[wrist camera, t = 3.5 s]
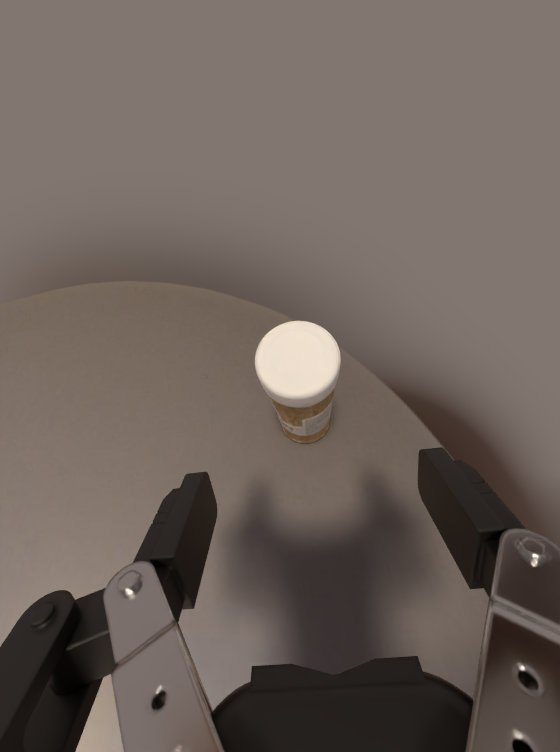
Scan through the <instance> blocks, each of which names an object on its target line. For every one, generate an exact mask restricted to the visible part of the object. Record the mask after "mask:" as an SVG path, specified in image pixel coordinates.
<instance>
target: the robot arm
mask: <svg viewBox="0 0 560 752" xmlns="http://www.w3.org/2000/svg"><path fill="white" fill-rule="evenodd" d="M418 489H419V493H420V496H421V499H422V501H423V503H424V505H425V506H426V508H427V510H428V512H429V514H430V516H431V518H432V519H433V521H434V523H435V525H436V527H437V529H438V530H439V532H440V534H441V536H442V538H443V540H444V542H445V543H446V545H447V547H448V549H449V551H450V553H451V555H452V556H453V558H454V560H455V562H456V564H457V566H458V567H459V569H460V571H461V573H462V575H463V577H464V579H465V580H466V582H467V584H468V586H469V588H470V589H478V588H484V589H485V591H486V593H487V595H488V596H489V604H488V610H487V616H486V622H485V628H484V634H483V640H482V646H481V652H480V658H479V664H478V670H477V676H476V682H475V688H474V694H473V699H472V698H471V697H470V696H468V695H467V694H466V693H465V692H463V691H462V690H460V689H459V688H457V687H456V686H454V685H453V684H451V683H449V682H447V681H446V680H444V679H442V678H440V677H437V676H435V675H432V674H430V673H426V672H422V669H421V665H420V662H419V659H418V656H411V657H395V658H378V659H374V660H371V661H369V662H366V663H364V664H362V665H359V666H357V667H354V668H352V669H350V670H347V671H345V672H342V673H340V674H337V675H331V674H327V673H323V672H320V671H316V670H312V669H309V668H305V667H301V666H298V665H294V664H281V665H265V666H252V673H251V682H249V683H246V684H244V685H243V686H241V687H239V688H238V689H236V690H235V691H233V692H232V693H231V694H229V695H228V696H227V697H226V698H225V699H224V700H223V701H222V702H221V703H220V704H219V705H218V706H217V707H216V708H215V709H214V711H213V709H212V707H211V704H210V702H209V699H208V697H207V695H206V692H205V690H204V687H203V685H202V682H201V680H200V677H199V675H198V672H197V670H196V667H195V665H194V662H193V659H192V657H191V654H190V652H189V649H188V647H187V644H186V642H185V639H184V637H183V634H182V632H181V629H180V626H179V624H178V621H179V617H180V614H181V610H182V609H194V606H195V602H196V598H197V594H198V590H199V586H200V582H201V578H202V574H203V570H204V566H205V562H206V558H207V554H208V550H209V546H210V543H211V539H212V535H213V531H214V527H215V523H216V518H217V503H216V499H215V495H214V492H213V488H212V485H211V481H210V478H209V475H208V473H207V472H199V473H190V474H186V476H185V477H184V480H183V482H182V484H181V487H180V488H178V489H173V490H172V491H171V492H170V493H169V494H168V495H167V496H166V497H165V498H164V499H163V501H162V503H161V505H160V508H159V510H158V514H156V516H155V518H154V520H153V524H151V526H150V528H149V530H148V532H147V534H146V537H145V539H144V541H143V543H142V545H141V547H140V549H139V551H138V553H137V555H136V557H135V559H134V561H133V563H132V564H129V565H127V566H125V567H124V568H122V569H121V570H120V571H119V572H117V573H116V574H115V575H114V576H113V578H112V579H111V580H110V582H109V583H108V585H107V587H106V588H104V589H102V590H99V591H97V592H94V593H92V594H89V595H87V596H84V597H81V598H79V599H76V600H75V599H74V597H73V596H72V594H71V593H70V592H68V591H65V590H59V591H55V592H52V593H50V594H47V595H45V596H44V597H42V598H40V599H39V600H38V601H36V602H35V603H34V604H33V605H31V606H30V607H29V608H28V609H27V610H26V611H25V612H24V613H23V615H22V616H21V617H20V619H19V620H18V621H17V623H16V624H15V626H14V627H13V629H12V630H11V632H10V633H9V635H8V636H7V638H6V639H5V641H4V642H3V644H2V645H1V647H0V752H75V751H76V748H77V745H78V743H79V740H80V738H81V735H82V732H83V730H84V727H85V724H86V722H87V719H88V716H89V714H90V711H91V708H92V706H93V703H94V700H95V698H96V695H97V693H98V690H99V687H100V685H101V682H102V679H103V677H105V676H107V675H109V674H111V677H112V685H113V690H114V696H115V702H116V708H117V714H118V720H119V726H120V732H121V738H122V743H123V749H124V752H560V548H559V547H558V546H557V545H556V544H555V543H554V542H552V541H551V540H549V539H548V538H546V537H544V536H542V535H541V534H538V533H536V532H533V531H530V530H527V529H526V528H525V527H524V526H523V525H522V524H521V522H520V521H519V520H518V519H517V518H516V517H515V516H514V514H513V513H512V512H511V511H510V510H509V508H508V507H507V506H506V505H505V504H504V503H503V501H502V500H501V499H500V498H499V497H498V496H497V494H496V493H495V492H493V490H492V489H491V487H490V486H489V485H488V484H487V483H485V481H484V479H483V478H482V477H481V476H480V474H479V473H478V472H477V471H476V470H475V469H474V468H472V467H470V466H469V465H468V464H466V463H464V462H463V461H461V460H458V461H453V460H452V458H451V457H450V456H449V455H448V453H447V452H446V451H445V450H444V449H443V448H432V449H423V450H420V451H419V461H418Z"/></svg>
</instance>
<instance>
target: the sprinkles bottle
mask: <svg viewBox="0 0 560 752" xmlns="http://www.w3.org/2000/svg"><path fill="white" fill-rule="evenodd" d="M340 361H341V358H340V351H339V348H338V345H337V343H336V341H335V339H334V338H333V337H332V336H331V334H330V333H329V332H327V331H326V330H325V329H324V328H322V327H320V326H319V325H316V324H314V323H311V322H306V321H292V322H287V323H284V324H281V325H279V326H277V327H275V328H273V329H272V330H271V331H269V332H268V333H267V334H266V335H265V336H264V337H263V339H262V340H261V342H260V343H259V346H258V348H257V351H256V355H255V368H256V372H257V375H258V378H259V380H260V382H261V385H262V387H263V388H264V390H265V391H266V393H267V394H268V395H269V396H270V397H271V401H272V403H273V406H274V408H275V411H276V413H277V415H278V418H279V420H280V423H281V426H282V429H283V431H284V432H285V434H286V435H287V436H288V437H289V438H291V439H292V440H294V441H296V442H299V443H312V442H315V441H317V440H319V439H320V438H322V437H323V436H324V434H325V433H326V432H327V430H328V428H329V423H330V415H331V409H332V403H333V396H334V387H335V385H336V383H337V381H338V377H339V371H340Z"/></svg>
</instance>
